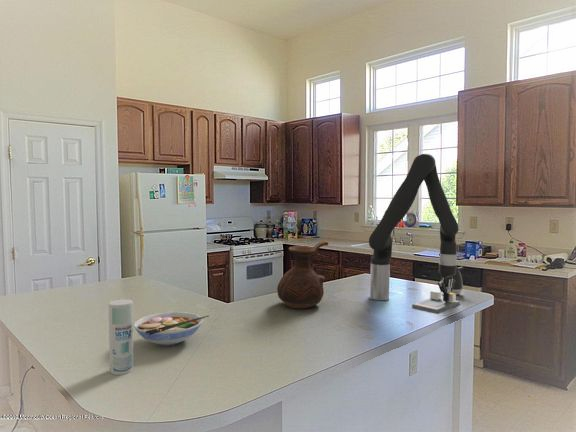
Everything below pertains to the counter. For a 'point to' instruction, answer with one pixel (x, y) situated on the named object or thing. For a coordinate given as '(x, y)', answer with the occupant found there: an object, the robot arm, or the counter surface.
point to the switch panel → (434, 305)
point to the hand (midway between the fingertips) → (446, 301)
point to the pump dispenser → (457, 282)
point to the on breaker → (435, 295)
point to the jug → (302, 280)
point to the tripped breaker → (452, 297)
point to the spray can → (121, 336)
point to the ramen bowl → (168, 327)
